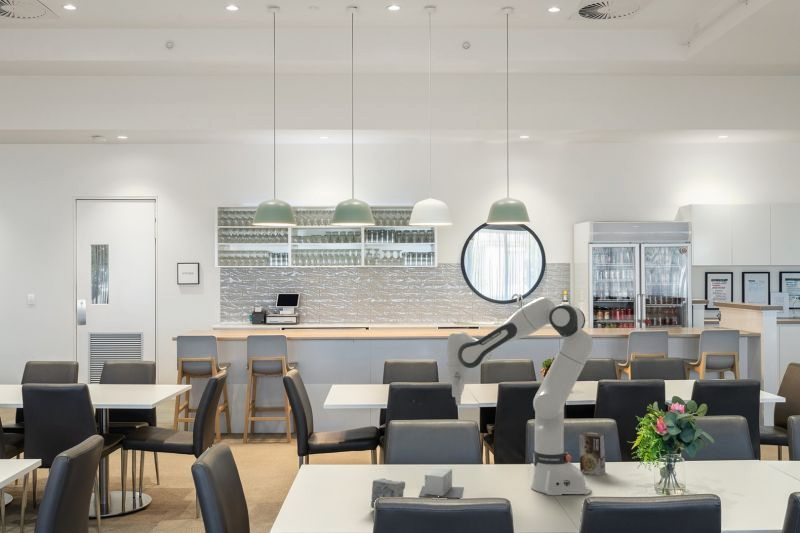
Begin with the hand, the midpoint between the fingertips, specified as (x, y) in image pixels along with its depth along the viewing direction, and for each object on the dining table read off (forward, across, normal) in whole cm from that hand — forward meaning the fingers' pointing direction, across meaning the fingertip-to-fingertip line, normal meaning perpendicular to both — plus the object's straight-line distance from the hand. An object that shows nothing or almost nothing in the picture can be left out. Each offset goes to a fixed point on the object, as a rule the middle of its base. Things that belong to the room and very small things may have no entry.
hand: (458, 404), depth 293 cm
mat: (+29, -24, +5) cm, 38 cm away
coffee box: (+29, +10, -55) cm, 63 cm away
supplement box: (+25, -17, +5) cm, 31 cm away
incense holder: (+29, -46, +22) cm, 59 cm away
